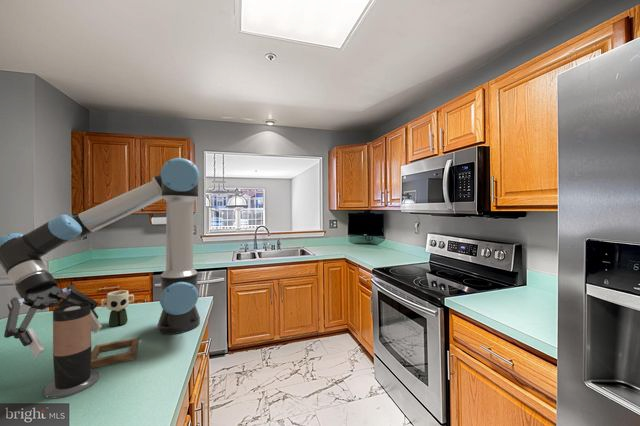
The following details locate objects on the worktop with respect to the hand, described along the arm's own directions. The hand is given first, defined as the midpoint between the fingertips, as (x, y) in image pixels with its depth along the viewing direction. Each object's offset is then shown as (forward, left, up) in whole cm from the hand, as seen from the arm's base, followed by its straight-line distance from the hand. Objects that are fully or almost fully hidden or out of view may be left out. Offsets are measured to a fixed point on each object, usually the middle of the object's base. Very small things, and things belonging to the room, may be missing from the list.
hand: (71, 340), depth 74 cm
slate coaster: (0, 0, -12) cm, 12 cm away
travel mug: (0, 0, -11) cm, 11 cm away
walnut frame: (-7, -13, -12) cm, 19 cm away
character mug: (-4, -42, -12) cm, 44 cm away
